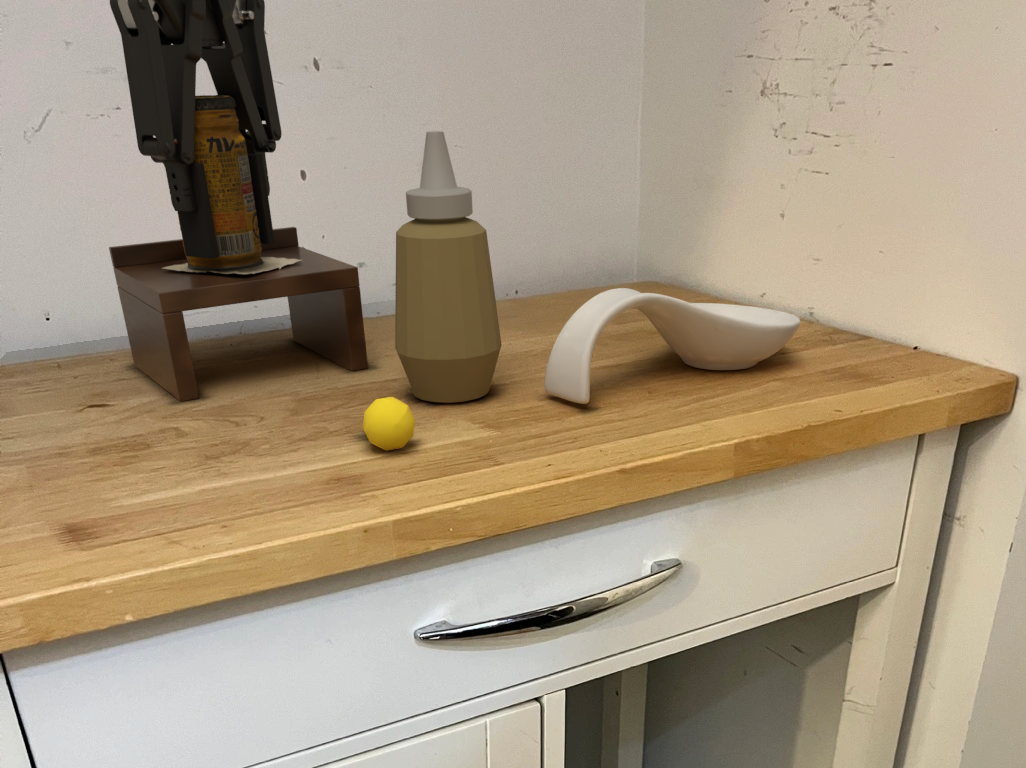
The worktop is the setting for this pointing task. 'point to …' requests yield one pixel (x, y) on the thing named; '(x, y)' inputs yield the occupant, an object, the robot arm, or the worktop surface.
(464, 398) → the squeeze bottle
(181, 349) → the walnut shelf
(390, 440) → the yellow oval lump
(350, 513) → the worktop surface
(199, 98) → the condiment
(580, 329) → the spoon rest
